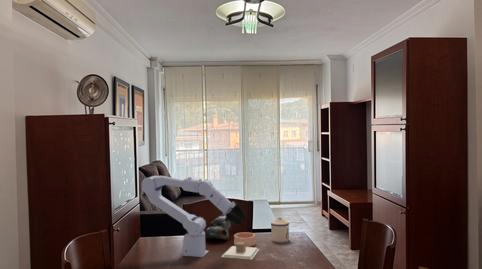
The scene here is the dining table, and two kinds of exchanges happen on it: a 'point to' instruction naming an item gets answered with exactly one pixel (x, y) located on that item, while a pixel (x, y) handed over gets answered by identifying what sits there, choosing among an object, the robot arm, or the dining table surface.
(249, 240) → the bowl
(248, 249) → the cover plate
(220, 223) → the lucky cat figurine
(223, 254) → the mat
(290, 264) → the dining table surface
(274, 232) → the teacup with lid
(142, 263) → the dining table surface
